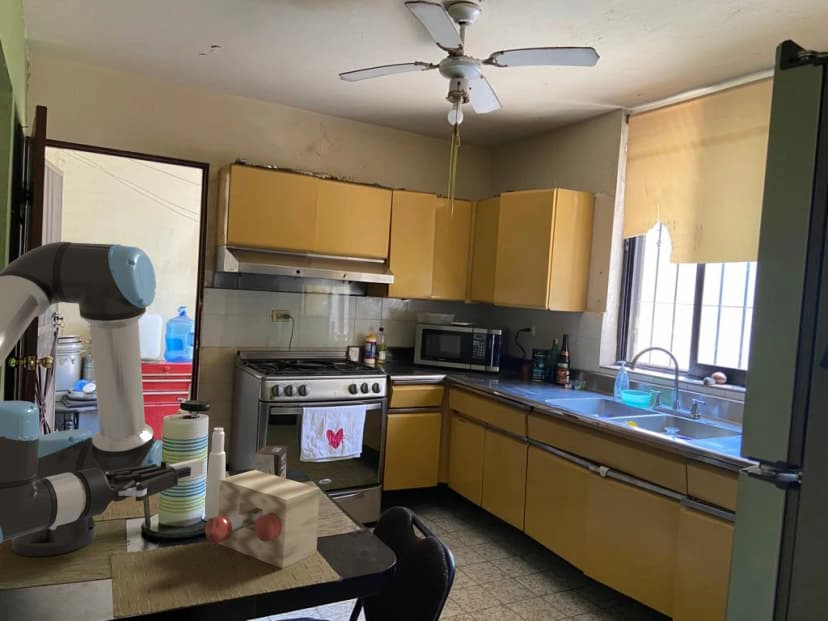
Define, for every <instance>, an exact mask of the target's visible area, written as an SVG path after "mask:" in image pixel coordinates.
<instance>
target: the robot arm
mask: <svg viewBox="0 0 828 621" xmlns="http://www.w3.org/2000/svg"><path fill="white" fill-rule="evenodd" d="M156 281H157V279H156V274H155V269H154V266H153V262H152V261H151V259H150V257H149V256H148V255H147V253H146V252H145V251H144V250H143V249H141V248H139V247H136V246H127V245H122V244H115V243H112V244H111V243H90V242H89V243H87V242H85V243H84V242H71V241H56V242H49V243H46V244H43V245H39V246H38V247H36V248H33V249H31V250H29V251H28V252H27V251H26V252H25V253H24V254H22V255H20V256H19V257H18V258H16V259H14V260H13V261H12V262H10V263H9V264H8V265H6V266H5V267H4V269H3V270H1V271H0V367H1V366H2V365H3V364H4V362H5V360H6V359H7V358H8V356H9V354H10V353H11V352H12V350H13V349H14V348H15V346H16V345H17V343H18V342H19V340H20V338H21V337H22V335H23V334H24V333H25V331H26V330H27V329H28V327H29V326H30V324H31V323H32V321H33V320H34V319H35V317H36V318H37V317H41V316H42V315H44V314H45V313H46V312H47V310H48V309H49V307H50V306H52V305H54V304H58V303H66V304H77V305H78V309H79V317H80V318H81V319H83V320H84V321H85V322H87V323H88V324H89V328H90V329H89V330H90V331H89V332H90V340H91V342H90V343H91V350H92V352H91V353H92V361H93V362H92V363H93V371H94V373H93V374H94V383H95V385H94V386H95V395H96V404H97V405H96V406H97V417H98V418H97V419H98V427H99V430H98V431H97V432H95V434H94V435H93V433H92V431H91V430H90V429H85V428H81V429H78V428H76V429H68V430H67V429H66V430H61V431H55V432H54V431H53V432H51V433H46V434H42V435H41V430H40V409H39V407H38V406H37V405H36V404H35V403H33V402H31V401H24V400H0V544H1V543H4V542H5V541H9V540H11V549H12V551H13V552H14V553H15V554H18V555H21V556H27V557H28V556H29V557H48V556H56V555H57V556H58V555H63V554H66V553H70V552H73V551H76V550H77V551H78V550H79V549H81V548H84V547H86V546H88V545H89V544H91V543H93V541H94V540H95V538H96V523H95V520H94V517H95V516H99V515H101V514H103V513H104V512H105V511H106V510H107V508H108V506H109V504H110V503H112V501H113V502H121V501H125V500H126V499H128V498H132V497H135V501H136V502H143V501H145V500H146V499H147V498H149V497H151V496H153V495H156V494H159V493H161V492H164V491H167V490H169V489H171V488H175V487H177V486H179V480H183V479H184V480H185V479H188V478H192V477H195V476H200V475H203V472H204V471H203V468H204V459H203V458H202V459H201V458H193V459H190V460H185V461H181V462H175V463H172V464H168V465H167V461H166V460H164V461H161V459H162V457H161V456H162V444H163V443H164V441H163V440H160V439H154V438H155V437H154V429H153V428H152V427H151V426H150V425H148V424H147V423H146V420H145V416H146V415H145V404H144V403H145V402H144V388H143V385H144V384H143V373H142V372H143V371H142V362H141V361H142V358H141V344H140V342H141V341H140V328H139V327H140V326H139V325H140V324H139V320H140V319H141V318H142V317H143V316H145V314H146V312H147V311H146V310H147V309H146V307H147V308H148V307H150V306H151V305H152V303H153V302H154V300H155V296H156V291H155V290H156V288H157V282H156Z"/></svg>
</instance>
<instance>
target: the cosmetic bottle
mask: <svg viewBox="0 0 828 621" xmlns="http://www.w3.org/2000/svg"><path fill="white" fill-rule="evenodd" d="M211 437H212V438H211V451H210V452H209V455H208V456H209V457H208V465H207V476H206V486H205V493H206V496H205V495H204V500H205V514H206V517H207V518H213V517H216V516H218V510H219V491H220V479H223V478H226V452H225V451H224V450H225V449H224V448H225V447H224V446H225V432H224V427H214V428H213V432H212V435H211Z"/></svg>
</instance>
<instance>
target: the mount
mask: <svg viewBox="0 0 828 621" xmlns="http://www.w3.org/2000/svg"><path fill="white" fill-rule="evenodd" d="M320 489H321V488H320V487H318V486H314V485H310V484H306V483H304V482H299V481H295V480H292V479H289V478H282V477H278V476H275V475H271V474H268V473H264V472H261V471H257V470H254V469H253V470H249V471H246V472H245V471H244V472H243V473H238V474H235V475H231V476H228V477H227V476H226V477H225V478H223V479H220V491H219V510H218V516H219V515H226V516H227V517H231V516H234V515H237V514H240V513H243V512H246V511H249V510H251V509H254V508H260V509H263V516H260V517H258V518H257V520H256V522H255V524H253V525H250V526H248V527H245V528H242V529H240V530H237V531H234V532H232V534H231V537H230V538H229V539H228V540H225V541H223V542H220V543H219V545H221V546H224V547H226V546H227V547H226V548H229V549H232V550H234V551H236V552H239V553H242V554H244V555H247V556H249V557H251V556H252V558H254V559H257V560H259V561H262V562H265V563H267V564H268V565H269V564H270V565H272V566H274V567H277V568H279V569H282V570H283V569H286V568H288V567H290V566H292V565H294V564H296V563H298V562H301V561H302V560H304V559H306V558H308V557H310V556H313V555H314V554H316V553H317V551H318V550H317V547H318V532H319V528H318V527H319V514H320V512H319V508H320V493H321V492H320Z"/></svg>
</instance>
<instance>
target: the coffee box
mask: <svg viewBox="0 0 828 621" xmlns="http://www.w3.org/2000/svg"><path fill="white" fill-rule="evenodd" d="M287 455H288V446H283V445H263V446H262V447H261V448H260V449H258V450H257V451H256V452H255V453H254V461H253V462H254V464H253V470H257V471H261V472H264V473H268V474H271V475H275V476H278V477H282V478H286V475H287V457H288V456H287ZM286 479H287V478H286Z"/></svg>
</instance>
